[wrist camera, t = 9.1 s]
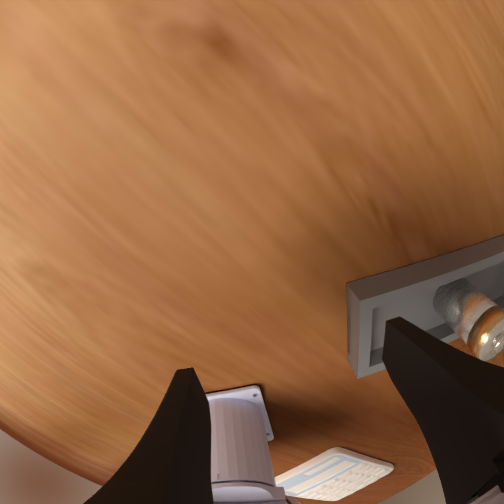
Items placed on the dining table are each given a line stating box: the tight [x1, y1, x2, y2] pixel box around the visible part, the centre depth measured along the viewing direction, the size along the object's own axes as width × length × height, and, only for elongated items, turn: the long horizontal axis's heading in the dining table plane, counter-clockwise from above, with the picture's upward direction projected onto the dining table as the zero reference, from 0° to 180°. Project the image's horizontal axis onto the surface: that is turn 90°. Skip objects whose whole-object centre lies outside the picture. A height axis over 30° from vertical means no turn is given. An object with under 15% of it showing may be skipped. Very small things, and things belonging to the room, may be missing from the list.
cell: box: [433, 277, 504, 361], centre depth 19 cm, size 4×4×8 cm
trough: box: [346, 235, 504, 379], centre depth 23 cm, size 8×20×2 cm, turn 101°
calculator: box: [274, 447, 394, 501], centre depth 36 cm, size 13×20×2 cm, turn 45°
